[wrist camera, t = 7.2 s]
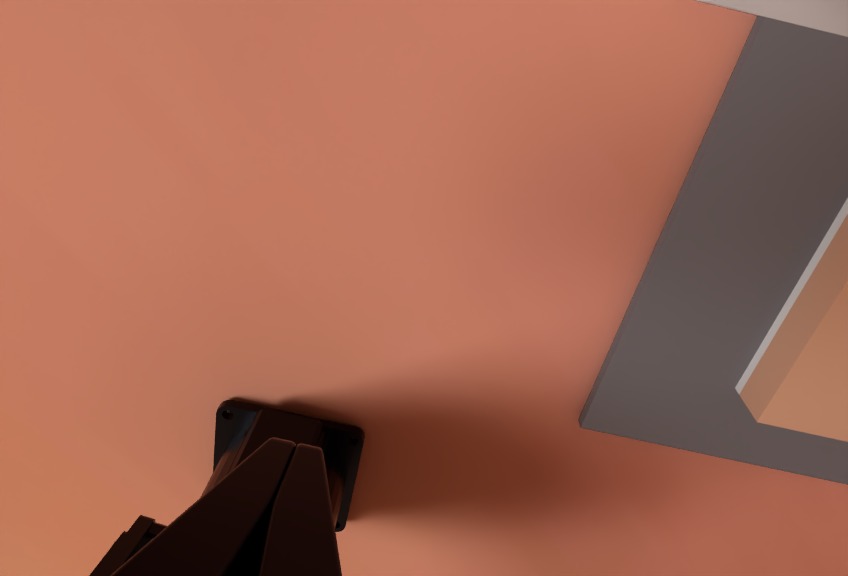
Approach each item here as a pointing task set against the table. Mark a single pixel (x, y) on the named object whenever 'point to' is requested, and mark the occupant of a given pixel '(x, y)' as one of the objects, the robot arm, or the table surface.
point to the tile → (807, 348)
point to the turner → (796, 12)
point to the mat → (736, 260)
